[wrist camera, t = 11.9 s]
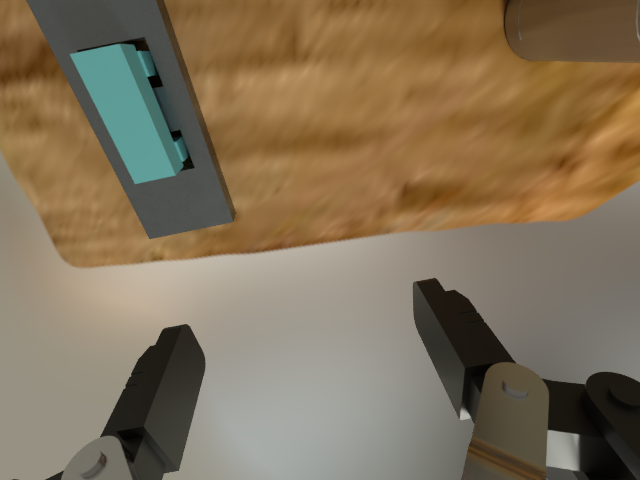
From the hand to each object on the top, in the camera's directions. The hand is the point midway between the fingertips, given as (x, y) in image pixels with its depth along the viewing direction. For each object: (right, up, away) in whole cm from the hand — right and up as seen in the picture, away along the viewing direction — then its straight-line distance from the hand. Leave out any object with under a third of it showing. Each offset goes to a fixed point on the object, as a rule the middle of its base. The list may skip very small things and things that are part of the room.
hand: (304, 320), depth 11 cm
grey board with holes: (-17, +16, +22) cm, 32 cm away
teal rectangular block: (-17, +16, +22) cm, 32 cm away
